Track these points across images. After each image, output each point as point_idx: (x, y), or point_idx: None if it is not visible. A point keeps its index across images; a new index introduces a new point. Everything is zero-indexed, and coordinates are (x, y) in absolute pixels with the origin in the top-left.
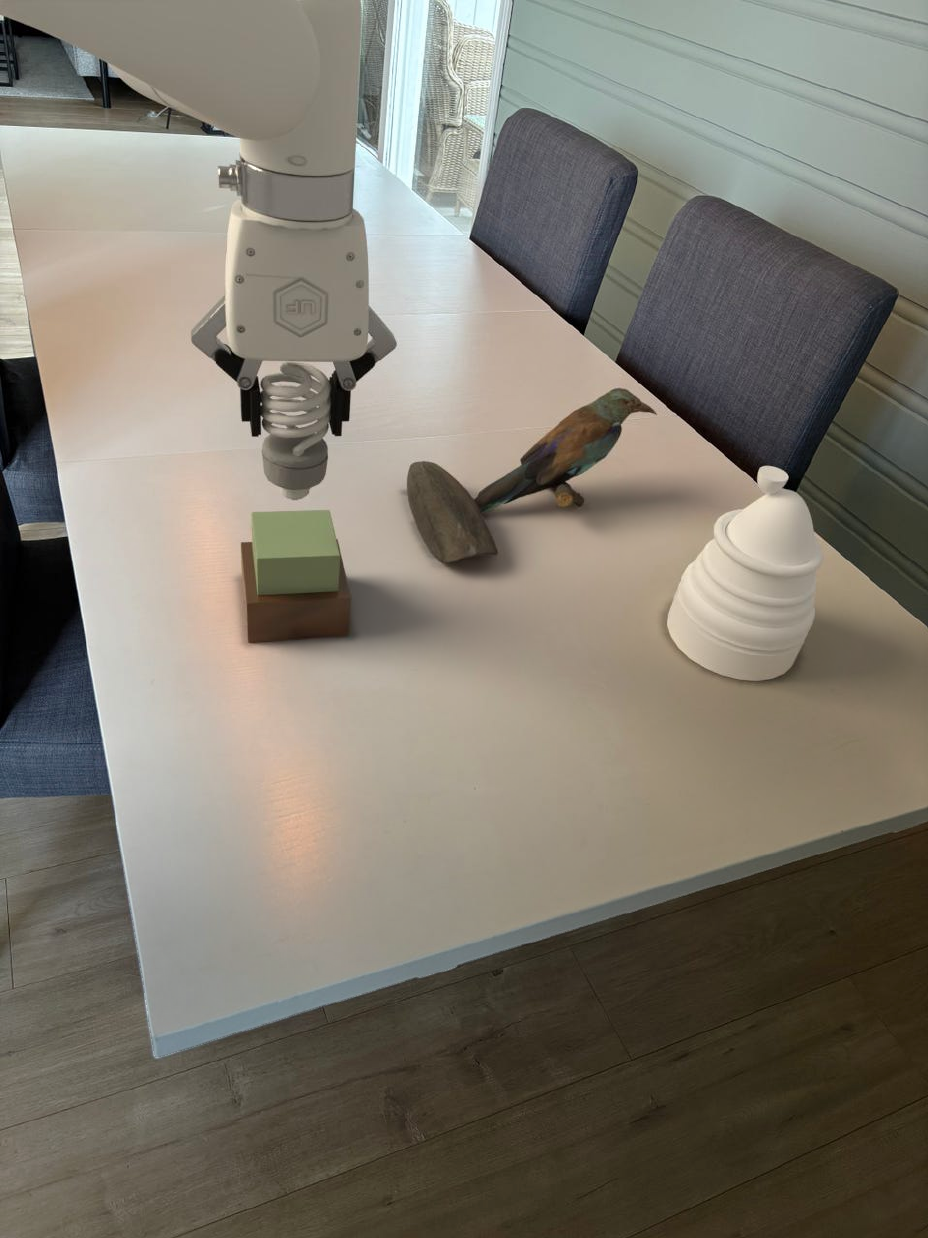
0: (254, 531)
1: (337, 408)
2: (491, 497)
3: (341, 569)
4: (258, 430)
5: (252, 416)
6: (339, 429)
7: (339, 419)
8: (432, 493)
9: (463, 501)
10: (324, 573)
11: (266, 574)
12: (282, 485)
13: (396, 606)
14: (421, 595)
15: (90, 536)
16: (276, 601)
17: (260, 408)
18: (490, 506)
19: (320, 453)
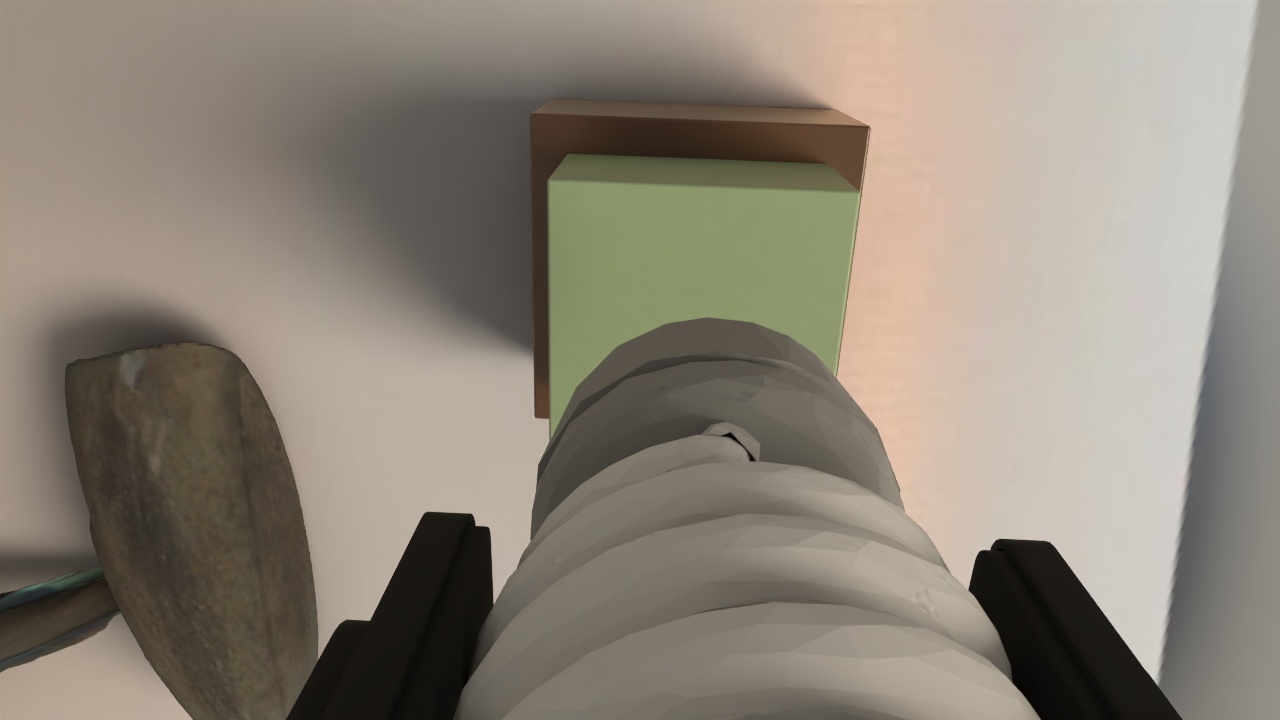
0: (836, 356)
1: (398, 662)
2: (66, 601)
3: (542, 267)
4: (1022, 560)
5: (1117, 645)
6: (429, 535)
7: (409, 591)
8: (225, 607)
9: (132, 566)
10: (610, 167)
11: (813, 176)
12: (796, 341)
13: (399, 213)
14: (322, 252)
15: (1145, 579)
16: (774, 125)
17: (1080, 700)
18: (83, 580)
19: (584, 445)
